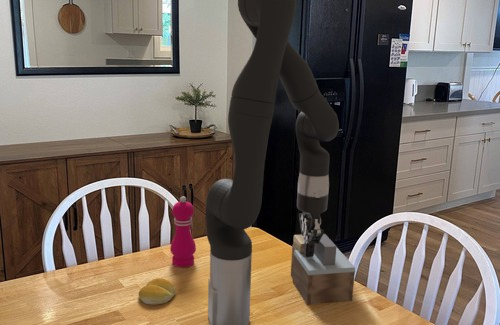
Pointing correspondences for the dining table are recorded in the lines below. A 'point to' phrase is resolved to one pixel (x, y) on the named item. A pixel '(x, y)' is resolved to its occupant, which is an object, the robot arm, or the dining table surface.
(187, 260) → the pepper mill
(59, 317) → the dining table surface
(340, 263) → the lid
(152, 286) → the bread roll
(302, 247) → the wooden key
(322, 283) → the toolbox
